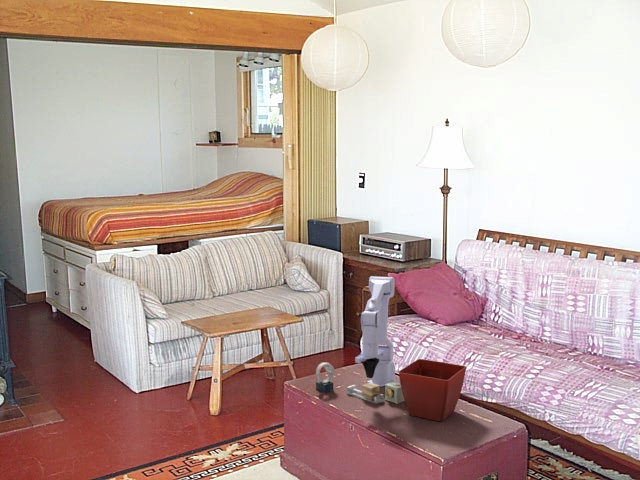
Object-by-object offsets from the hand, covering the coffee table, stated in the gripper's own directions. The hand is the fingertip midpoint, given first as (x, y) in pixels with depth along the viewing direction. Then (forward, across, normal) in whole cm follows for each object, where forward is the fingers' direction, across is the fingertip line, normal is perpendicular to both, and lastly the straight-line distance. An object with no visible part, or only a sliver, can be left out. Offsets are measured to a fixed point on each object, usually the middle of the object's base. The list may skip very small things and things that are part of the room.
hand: (369, 377), depth 277 cm
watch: (+10, +2, -22) cm, 24 cm away
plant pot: (+10, -8, +23) cm, 26 cm away
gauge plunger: (+8, -8, +5) cm, 13 cm away
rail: (+10, -3, -5) cm, 11 cm away
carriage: (+9, -3, -2) cm, 9 cm away
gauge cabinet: (+10, -9, +5) cm, 15 cm away
